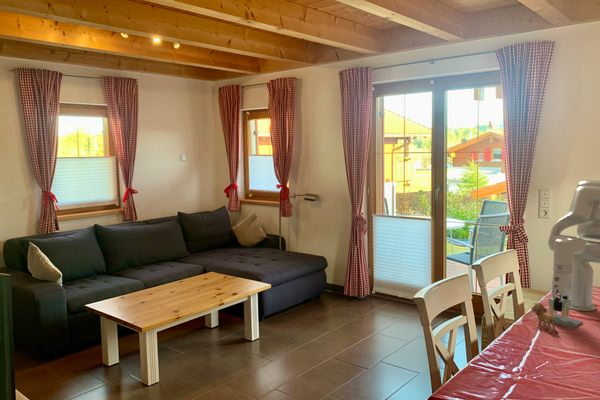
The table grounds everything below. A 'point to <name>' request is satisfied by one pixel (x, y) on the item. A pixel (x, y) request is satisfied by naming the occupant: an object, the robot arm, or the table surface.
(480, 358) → the table surface
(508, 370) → the table surface
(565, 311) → the sage stool
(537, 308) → the lion figurine
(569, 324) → the charcoal mat
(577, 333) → the table surface
